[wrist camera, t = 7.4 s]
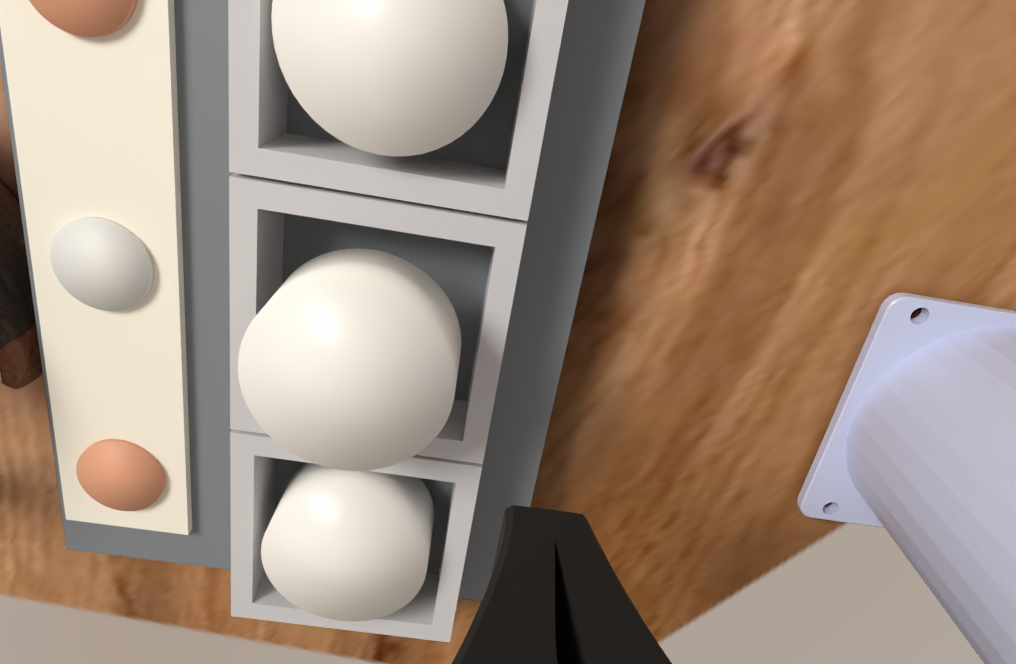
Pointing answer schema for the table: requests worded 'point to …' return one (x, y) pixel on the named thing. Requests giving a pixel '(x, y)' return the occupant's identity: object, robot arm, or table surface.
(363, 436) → the button middle
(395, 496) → the button
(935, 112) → the table surface
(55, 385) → the button board
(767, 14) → the table surface
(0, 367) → the brown broken pot
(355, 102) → the button
